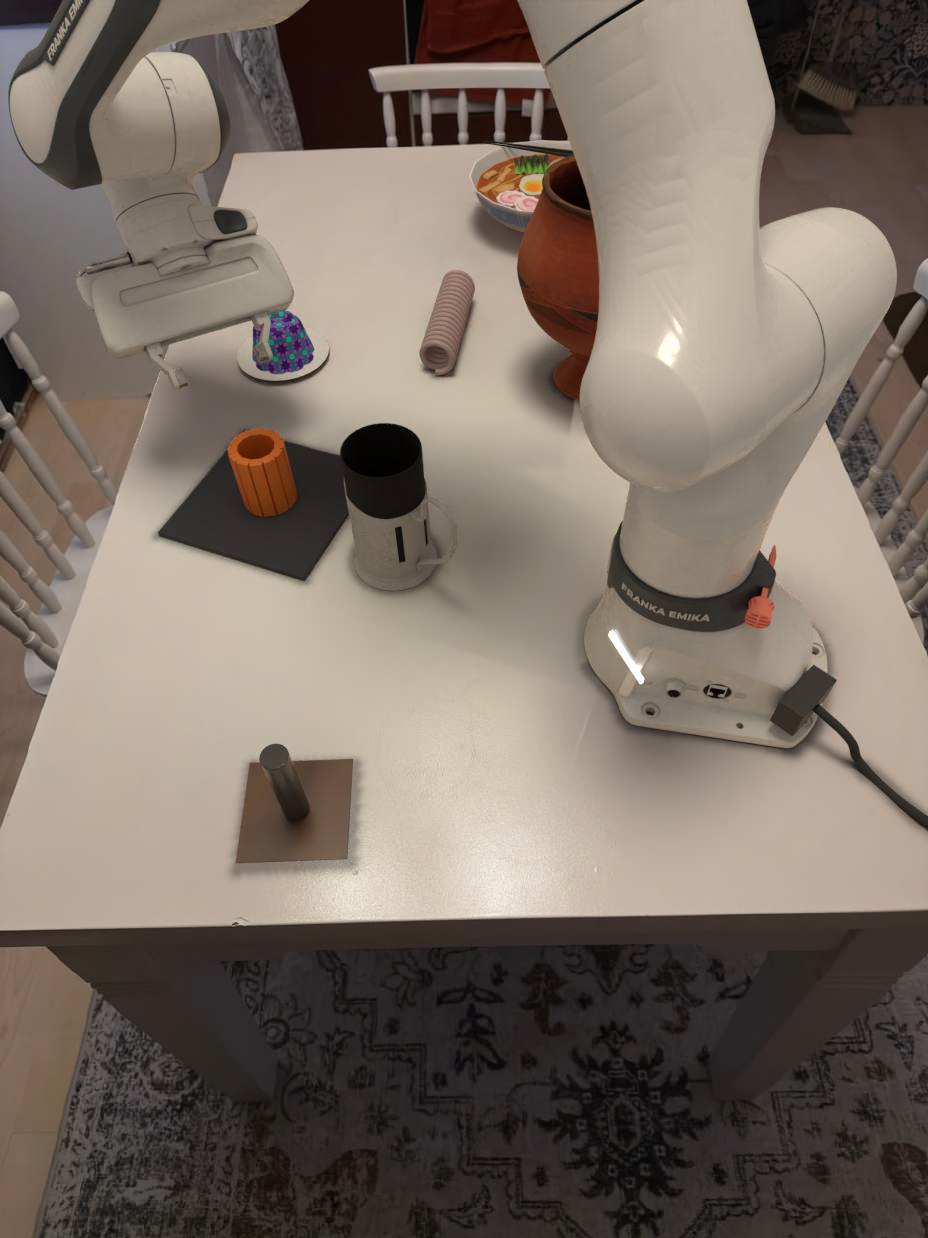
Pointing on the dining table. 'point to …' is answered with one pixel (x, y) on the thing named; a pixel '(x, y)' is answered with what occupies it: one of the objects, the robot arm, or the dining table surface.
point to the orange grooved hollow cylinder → (262, 472)
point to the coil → (447, 322)
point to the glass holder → (390, 507)
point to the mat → (266, 541)
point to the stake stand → (295, 809)
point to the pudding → (284, 350)
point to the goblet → (563, 270)
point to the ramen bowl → (515, 178)
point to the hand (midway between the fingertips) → (224, 374)
